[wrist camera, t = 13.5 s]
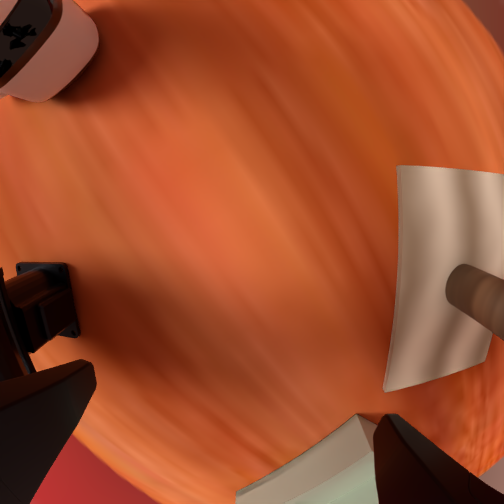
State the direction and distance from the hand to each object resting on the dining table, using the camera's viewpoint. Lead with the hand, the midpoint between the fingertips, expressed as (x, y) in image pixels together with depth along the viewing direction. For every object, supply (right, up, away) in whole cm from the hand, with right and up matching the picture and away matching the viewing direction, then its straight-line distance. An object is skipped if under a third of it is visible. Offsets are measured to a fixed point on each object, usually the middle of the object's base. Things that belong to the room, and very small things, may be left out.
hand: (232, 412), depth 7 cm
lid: (+18, +2, +13) cm, 22 cm away
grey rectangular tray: (+9, -21, +17) cm, 29 cm away
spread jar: (-17, +21, +9) cm, 29 cm away
